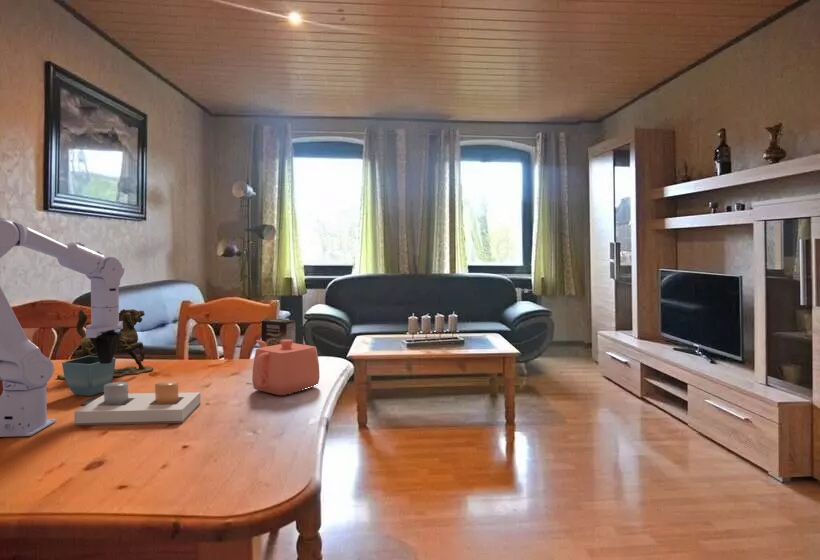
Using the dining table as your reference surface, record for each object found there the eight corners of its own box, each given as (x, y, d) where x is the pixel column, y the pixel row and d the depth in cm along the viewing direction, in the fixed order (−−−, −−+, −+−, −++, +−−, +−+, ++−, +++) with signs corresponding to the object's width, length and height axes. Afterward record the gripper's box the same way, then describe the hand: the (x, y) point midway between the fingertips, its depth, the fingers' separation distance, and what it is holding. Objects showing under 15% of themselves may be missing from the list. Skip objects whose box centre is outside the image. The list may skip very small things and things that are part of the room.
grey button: (123, 404, 115) (122, 387, 114) (100, 405, 114) (99, 387, 114) (131, 398, 119) (131, 381, 119) (110, 399, 119) (109, 382, 119)
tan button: (174, 403, 116) (174, 386, 116) (152, 404, 115) (151, 386, 115) (181, 397, 121) (181, 381, 121) (159, 398, 120) (159, 381, 120)
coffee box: (260, 371, 163) (260, 320, 162) (271, 366, 169) (271, 318, 168) (285, 373, 160) (285, 322, 159) (296, 369, 166) (296, 319, 165)
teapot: (283, 376, 156) (283, 331, 156) (329, 386, 145) (329, 338, 145) (226, 389, 140) (226, 339, 139) (273, 402, 129) (273, 348, 128)
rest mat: (107, 405, 124) (107, 403, 124) (80, 405, 123) (80, 403, 123) (118, 398, 130) (118, 396, 130) (92, 398, 129) (92, 397, 129)
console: (182, 423, 112) (182, 409, 112) (74, 425, 109) (74, 411, 109) (200, 404, 126) (200, 392, 126) (105, 406, 123) (105, 393, 123)
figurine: (153, 375, 155) (153, 308, 154) (54, 383, 143) (52, 311, 142) (152, 366, 166) (152, 304, 165) (60, 373, 155) (59, 307, 154)
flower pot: (90, 399, 129) (90, 364, 128) (61, 396, 130) (60, 362, 130) (117, 390, 137) (116, 357, 137) (89, 388, 139) (88, 355, 139)
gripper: (101, 303, 129) (102, 357, 130) (70, 310, 115) (71, 369, 115) (131, 303, 130) (131, 356, 131) (104, 310, 116) (105, 369, 116)
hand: (105, 363), depth 123 cm, fingers closed
